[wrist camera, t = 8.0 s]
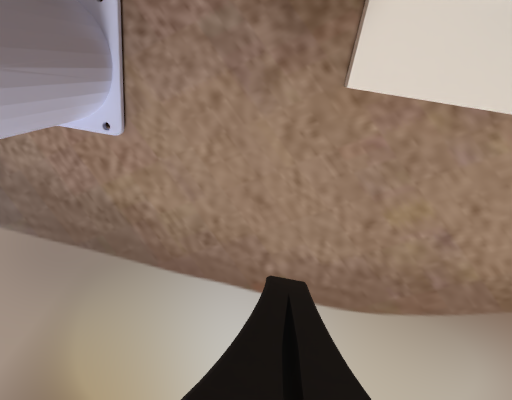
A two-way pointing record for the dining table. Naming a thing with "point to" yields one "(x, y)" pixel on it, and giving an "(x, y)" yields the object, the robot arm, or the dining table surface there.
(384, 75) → the board
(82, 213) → the dining table surface
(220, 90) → the dining table surface
